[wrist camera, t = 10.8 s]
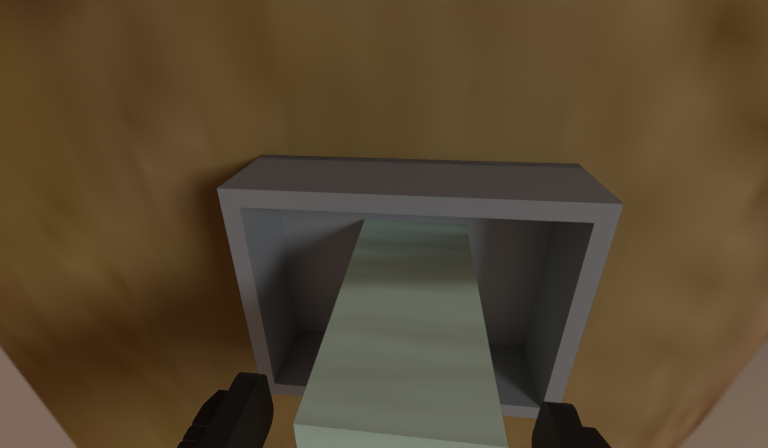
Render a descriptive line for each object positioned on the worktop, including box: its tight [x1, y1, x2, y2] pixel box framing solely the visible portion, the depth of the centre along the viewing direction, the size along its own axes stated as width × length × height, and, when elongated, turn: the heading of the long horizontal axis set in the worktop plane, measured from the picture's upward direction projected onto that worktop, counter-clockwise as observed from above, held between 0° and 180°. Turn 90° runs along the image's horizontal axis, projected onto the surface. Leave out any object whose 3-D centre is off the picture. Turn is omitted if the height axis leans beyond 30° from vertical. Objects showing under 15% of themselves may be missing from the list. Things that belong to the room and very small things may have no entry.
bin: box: [217, 155, 624, 419], centre depth 16 cm, size 10×13×4 cm
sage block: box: [293, 219, 508, 448], centre depth 13 cm, size 5×4×10 cm
